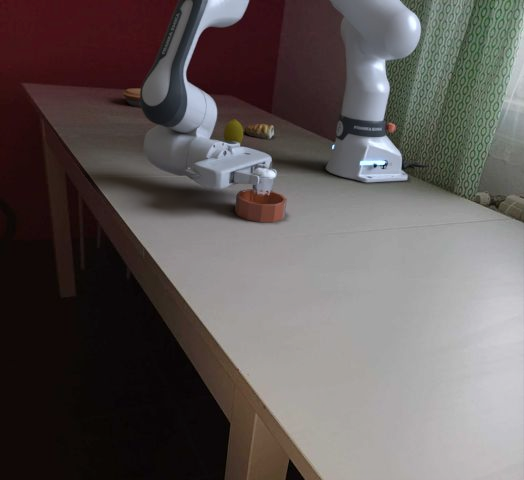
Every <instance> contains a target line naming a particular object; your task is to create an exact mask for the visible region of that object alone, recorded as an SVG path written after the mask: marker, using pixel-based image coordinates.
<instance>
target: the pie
mask: <svg viewBox="0 0 524 480" xmlns="http://www.w3.org/2000/svg"><path fill="white" fill-rule="evenodd" d="M140 91H141V87H140V88H138V87H137V88H135V87H134V88H133V87H132V88H127V89H126V90H124V91H122V96H124V98H125V100H126V101H127V103H128V105H130V106H131V107H132V106H133V107H137V108H142V107H141V102H140Z"/></svg>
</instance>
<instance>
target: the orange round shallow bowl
mask: <svg viewBox="0 0 524 480" xmlns="http://www.w3.org/2000/svg"><path fill="white" fill-rule="evenodd" d="M287 202H288V201H287V197H285V196H284V195H283V194H281V193H278V192H276V191H273V190H272V194H271V198H270V203H269V204H258V203H253V202H252V188H248V189H243V190H240V191H238V192H237V193H236V195H235V206H234V207H235V208H234V212H235V213H236V215H237V216H238V217H239V218H243V219H245V220H247V221H252V222H256V223H275V222H278V221H282V220H283V219H284V218H285V215H286V208H287Z"/></svg>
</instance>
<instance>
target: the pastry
mask: <svg viewBox="0 0 524 480" xmlns="http://www.w3.org/2000/svg"><path fill="white" fill-rule="evenodd" d="M274 130H275V129H274V125H273V124H269V125H268V124H265V123H256V124H252V125H251V124H250V125H246V126H245V127H244V132H245V134H247V136H248V135H249V136H250V137H251V136H252V137H256V138H259V139H260V138H262V139H266V140H267V139H269V140H270V139H272V137H273V136H274V135H275V131H274Z"/></svg>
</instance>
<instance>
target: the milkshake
mask: <svg viewBox="0 0 524 480" xmlns="http://www.w3.org/2000/svg"><path fill="white" fill-rule="evenodd" d="M273 162H274V161H271V162H270V165H269V169H266V168H257V169H255V170H254V171H253V174H254V173H255V174H258V175H261V176H262V179H261V184H258V185H252V187H251V189H252V202H253V203H258V204H269V203H270V198H271V194H272V191H273V189H274V184H275V180H276V178H277V174H275V172H274V171H272V170H271V169H272V167H273ZM275 177H276V178H275Z"/></svg>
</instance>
